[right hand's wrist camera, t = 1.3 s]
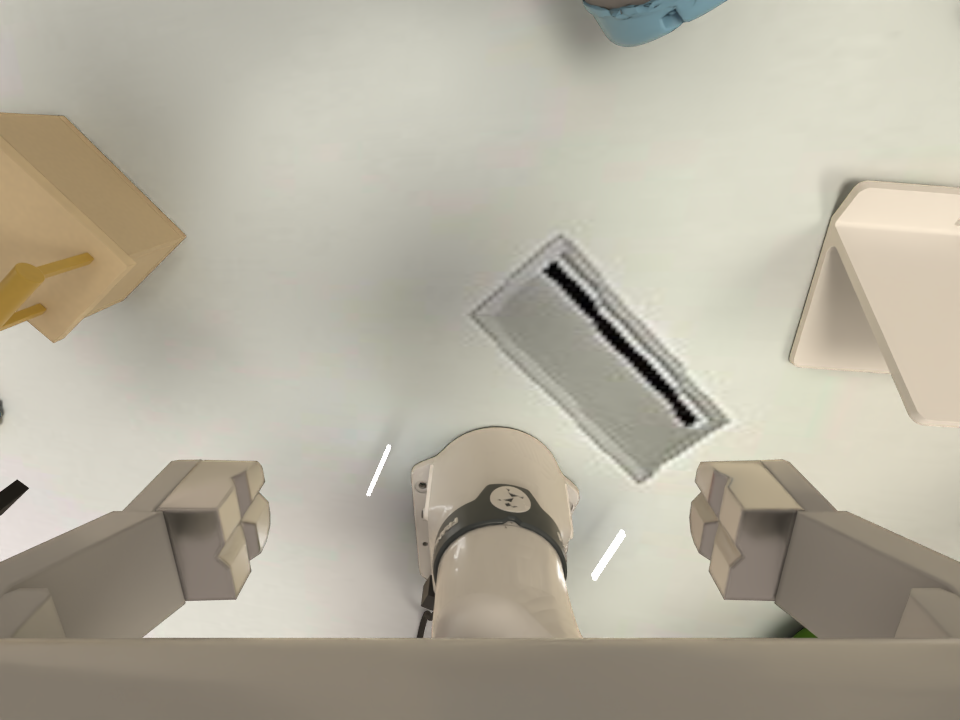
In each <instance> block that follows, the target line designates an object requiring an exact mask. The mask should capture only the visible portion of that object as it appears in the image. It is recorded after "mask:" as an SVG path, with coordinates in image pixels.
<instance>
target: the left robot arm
mask: <svg viewBox="0 0 960 720" xmlns="http://www.w3.org/2000/svg"><path fill="white" fill-rule="evenodd" d="M725 1H727V0H583V4H584V7H585V8H586V10H587V11H588V12H589V13H590V14H592V15H593V16H594V17H595V19H596V21H597V22H598V24H599V25H600V27H601V29H602V30H603V32H604V33H605V35H606V37H607V38H608V39H609V40H610V41H611V42H613V43H614V44H616V45H619V46H624V47H632V46H638V45H642V44H645V43H648V42H651V41H653V40H655V39H658V38H660V37H662V36H664V35H666V34H668V33H670V32H672V31H673V30H675V29H676V28H678V27H679V26H680V25H681V24H682V23H683V22H690V21H692V20H694V19H696V18H698V17H700V16H702V15H704V14H706V13H707V12H709V11H711V10H712V9H714V8H716V7H717V6H719V5H721V4H722V3H724V2H725ZM28 489H29V488H28V487H27V486H25V485H24V484H23V483H21V482H20V481H19V480H16V481H15V482H13V483H12V484H10V485H9V486H8V487H6V488H5V489H4V490H2V491H1V492H0V516H1V515H2V514H3V513H4V512H5V511H6V510H7V509H8V508H9V507H10V506H11V505H12V504H13V503H14V502H15V501H16V500H17V499H18V498H20V497H21V496H22V495H23V494H24V493H25V492H26V491H27V490H28Z"/></svg>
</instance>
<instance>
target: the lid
mask: <svg viewBox="0 0 960 720" xmlns="http://www.w3.org/2000/svg"><path fill="white" fill-rule="evenodd" d="M136 264H137V263H136V262H135V261H134V260H133V259H132V258H131V257H130V256H129V255H127V254H126V253H125V252H124V251H123V250H122V249H121V248H120V247H119V246H118V245H117V244H116V243H115V242H114V241H112V240H111V239H110V238H109V237H108V236H107V235H106V234H105V233H104V232H103V231H102V230H101V229H100V228H99V227H97V226H96V225H95V224H94V223H93V222H92V221H91V220H90V219H89V218H88V217H87V216H86V215H85V214H84V213H82V212H81V211H80V210H79V209H78V208H77V207H76V206H75V205H74V204H73V203H72V202H71V201H70V200H69V199H67V198H66V197H65V196H64V195H63V194H62V193H61V192H60V191H59V190H58V189H57V188H56V187H55V186H54V185H52V184H51V183H50V182H49V181H48V180H47V179H46V178H45V177H44V176H43V175H42V174H41V173H40V172H39V171H37V170H36V169H35V168H34V167H33V166H32V165H31V164H30V163H29V162H28V161H27V160H26V159H25V158H24V157H22V156H21V155H20V154H19V153H18V152H17V151H16V150H15V149H14V148H13V147H12V146H11V145H10V144H9V143H7V142H6V141H5V140H4V139H3V138H2V137H1V136H0V331H2V330H4V329H7V328H9V327H12V326H14V325H17V324H19V323H22V322H24V321H28V322H29V323H30V324H31V325H33V326H34V327H35V328H36V329H37V330H39V331H40V332H41V333H42V334H43V335H44V336H46V337H47V338H48V339H49V340H50V341H52V342H53V343H55V342H57V341H59V340H61V339H63V338H65V337H66V336H67V335H68V334H69V333H70V332H71V331H72V330H73V328H74V327H75V326H76V325H77V324H78V323H79V322H80V321H81V320H82V319H83V318H84V317H85V316H86V315H87V314H88V313H89V312H90V311H91V310H92V309H93V308H94V307H95V306H96V305H97V304H98V303H99V302H100V301H101V300H102V299H103V298H104V297H105V296H106V295H107V294H108V293H109V292H110V291H111V290H112V289H113V288H114V286H115V285H116V284H117V283H118V282H119V281H120V280H121V279H122V278H123V277H124V276H125V275H126V274H127V273H128V272H129V271H130V270H131V269H132V268H133V267H134V266H135V265H136Z"/></svg>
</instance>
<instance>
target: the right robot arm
mask: <svg viewBox="0 0 960 720" xmlns="http://www.w3.org/2000/svg"><path fill="white" fill-rule="evenodd" d="M390 447H391V446H390V445H388V446H387V448H386V451H385V453H384V455H383V457H382V460H381V462H380V464H379V467H378V469H377V471H376V473H375V476H374V478H373V480H372V483H371V485H370V487H369V489H368V492H367V495H368V496H370V494H371V492H372V489H373V487H374V485H375V482H376V480H377V478H378V476H379V473H380V471H381V469H382V467H383V464H384V462H385V460H386V457H387V455H388V453H389V451H390ZM411 482H412V493H413V505H414V516H415V528H416V539H417V550H418V562H419V571H420V574H421V575H422V576H423V577H424V578H425V579H427V581H426V582H425V584H424V586H423V594H422V602H421V606H422V607H425V608H427V609H430V610H432V611H433V612H432V613H430V612H429V611H426V612H425V613H424V615H423V617H422V619H421V623H420V626H419V631H418V635H417V638H142V637H144V636H145V635H146V634H147V633H149V632H150V631H151V630H153V629H154V628H155V627H156V626H158V625H159V624H160V623H161V622H163V621H164V620H165V619H166V618H168V617H169V616H170V615H171V614H173V613H174V612H175V611H177V610H178V609H179V608H180V607H182V606H183V605H184V604H185V601H200V600H235V599H236V598H237V597H238V595H239V593H240V591H241V589H242V587H243V585H244V584H245V582H246V580H247V578H248V576H249V574H250V573H251V567H250V560H251V559H253V558H254V557H256V556H257V555H259V554H260V553H261V552H262V550H263V548H264V546H265V544H266V542H267V538H268V534H269V529H270V508H269V502H268V501H267V500H266V499H265V498H264V497H263V496H262V495H261V494H260V493H259V491H260V489H261V487H262V486H263V484H264V483H265V478H264V473H263V468H262V466H261V464H260V463H259V462H258V461H234V460H176V461H171V462H170V463H169V464H168V465H167V466H166V467H165V468H164V469H163V470H162V471H161V472H160V473H159V474H158V475H157V476H156V477H155V478H154V479H153V480H152V481H151V482H150V484H149V485H148V486H147V487H146V488H145V489H144V490H143V491H142V492H141V493H140V494H139V495H138V496H137V497H136V498H135V499H134V500H133V501H132V502H131V503H130V504H129V505H128V506H127V507H126V508H125V509H124V510H123V511H113V512H110V513H108V514H106V515H104V516H102V517H99V518H97V519H95V520H93V521H90V522H88V523H86V524H84V525H82V526H79V527H77V528H75V529H73V530H70V531H68V532H66V533H64V534H62V535H59V536H57V537H55V538H53V539H50V540H48V541H46V542H44V543H42V544H39V545H37V546H35V547H33V548H30V549H28V550H26V551H24V552H22V553H19V554H17V555H15V556H13V557H11V558H8V559H6V560H4V561H2V562H0V720H960V562H958V561H956V560H954V559H951V558H949V557H947V556H945V555H943V554H940V553H938V552H936V551H934V550H931V549H929V548H927V547H925V546H923V545H920V544H918V543H916V542H914V541H912V540H909V539H907V538H905V537H903V536H900V535H898V534H896V533H894V532H892V531H889V530H887V529H885V528H883V527H881V526H878V525H876V524H874V523H872V522H870V521H867V520H865V519H863V518H861V517H858V516H856V515H854V514H852V513H850V512H847V511H837V510H836V509H835V508H834V507H833V506H832V505H831V504H830V503H829V502H828V501H827V500H826V499H825V498H824V497H823V496H822V495H821V494H820V493H819V492H818V491H817V490H816V488H815V487H814V486H813V485H812V484H811V483H810V482H809V481H808V480H807V479H806V478H805V477H804V476H803V475H802V474H801V473H800V472H799V471H798V470H797V469H796V468H795V467H794V466H793V465H792V464H791V463H790V462H788V461H785V460H783V459H778V460H752V461H712V462H700V464H699V466H698V469H697V472H696V478H695V483H696V484H697V486H698V487H699V489H700V491H701V493H700V494H699V495H698V496H697V497H696V498H695V499H694V500H693V501H692V502H691V509H690V517H689V518H690V530H691V535H692V538H693V541H694V544H695V546H696V548H697V550H698V552H699V553H700V554H701V555H703V556H704V557H706V558H707V559H709V560H710V566H709V573H710V574H711V576H712V578H713V580H714V582H715V584H716V585H717V587H718V589H719V591H720V593H721V595H722V596H723V598H724V600H759V601H775V604H776V605H777V606H779V607H780V608H781V609H782V610H784V611H785V612H786V613H787V614H789V615H790V616H791V617H793V618H794V619H795V620H796V621H798V622H799V623H800V624H801V625H803V626H804V627H805V628H806V629H808V630H809V631H810V632H811V633H813V634H814V635H815V636H817V637H818V638H583V637H582V635H581V633H580V631H579V629H578V626H577V623H576V620H575V617H574V613H573V610H572V607H571V603H570V599H569V595H568V591H567V587H566V583H565V582H566V577H567V557H566V553H567V550H568V545H567V544H568V542H569V540H570V539H572V538H573V525H572V518H571V515H572V513H573V511H574V509H575V507H576V506H577V504H578V502H579V498H580V497H579V490H578V488H577V487H576V486H575V485H574V484H573V483H572V482H571V481H570V480H569V479H567V478H566V477H565V476H564V475H563V474H562V472H561V471H560V469H559V466H558V464H557V462H556V460H555V458H554V456H553V455H552V453H551V452H550V451H549V450H548V449H547V447H546V446H545V445H543V444H542V443H541V442H540V441H539V440H537V439H536V438H534V437H532V436H531V435H528V434H526V433H524V432H521V431H518V430H514V429H510V428H501V427H491V428H483V429H478V430H475V431H472V432H469V433H466V434H464V435H462V436H460V437H459V438H457V439H455V440H454V441H453V442H451V443H450V444H449V445H448V446H447V447H446V448H445V449H444V450H443V451H441V452H440V453H439V454H438V455H437V456H435V457H433V458H430V459H427V460H425V461H422V462H420V463H418V464H417V465H415V466H414V467H413V468H412V471H411ZM422 482H423V483H425V484H426V485H421V484H420V483H422ZM624 537H625V533H624V531H623V530H621V531H620V532H619V534H618V535H617V537H616V538H615V540H614V541H613V543H612V544H611V546H610V547H609V549H608V550H607V552H606V553H605V555H604V556H603V558H602V559H601V561H600V563H599V564H598V566H597V567H596V569H595V570H594V572H593V573H592V577H593V580H596V579H597V578H598V576H599V575H600V573H601V571H602V570H603V568H604V567H605V565H606V564H607V562H608V561H609V559H610V558H611V556H612V555H613V553H614V552H615V550H616V549H617V547H618V546H619V544H620V543H621V541H622V540H623V538H624ZM427 619H428V620H429V621H432V620H433V622H432V632H431V638H423V634H424V630H425V625H426V622H427Z"/></svg>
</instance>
